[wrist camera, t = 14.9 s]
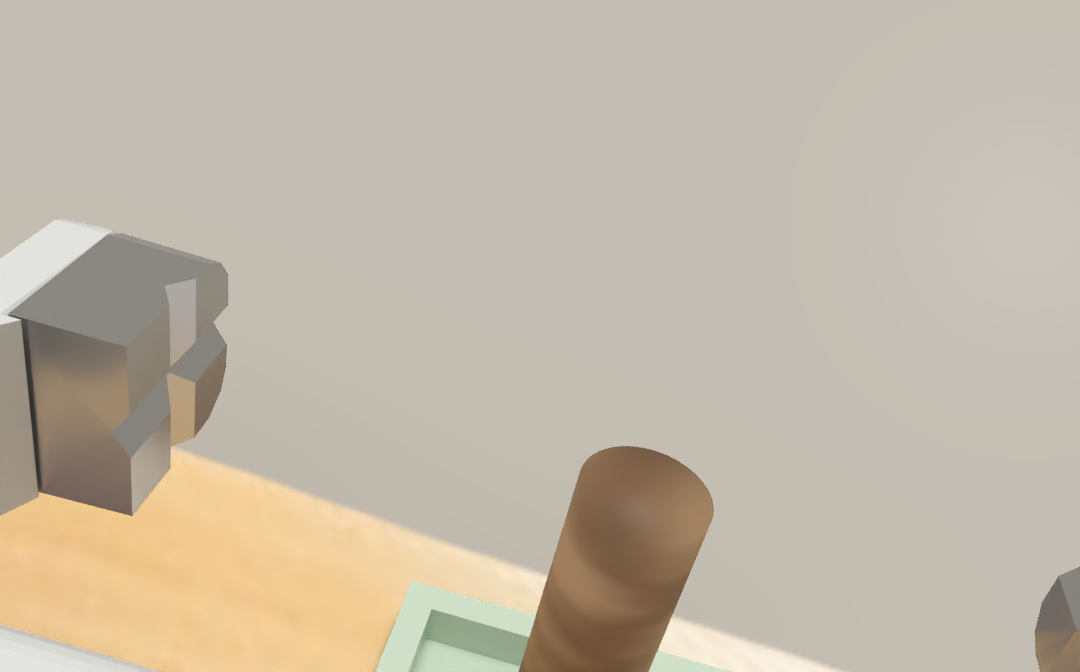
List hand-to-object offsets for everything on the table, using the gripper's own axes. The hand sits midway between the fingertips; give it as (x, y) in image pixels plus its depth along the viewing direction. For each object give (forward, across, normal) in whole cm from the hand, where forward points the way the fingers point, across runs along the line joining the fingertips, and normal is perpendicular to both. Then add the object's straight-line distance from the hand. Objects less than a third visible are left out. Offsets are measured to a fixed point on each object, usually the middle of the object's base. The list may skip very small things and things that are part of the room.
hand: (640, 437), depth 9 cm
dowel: (+15, -2, +29) cm, 33 cm away
